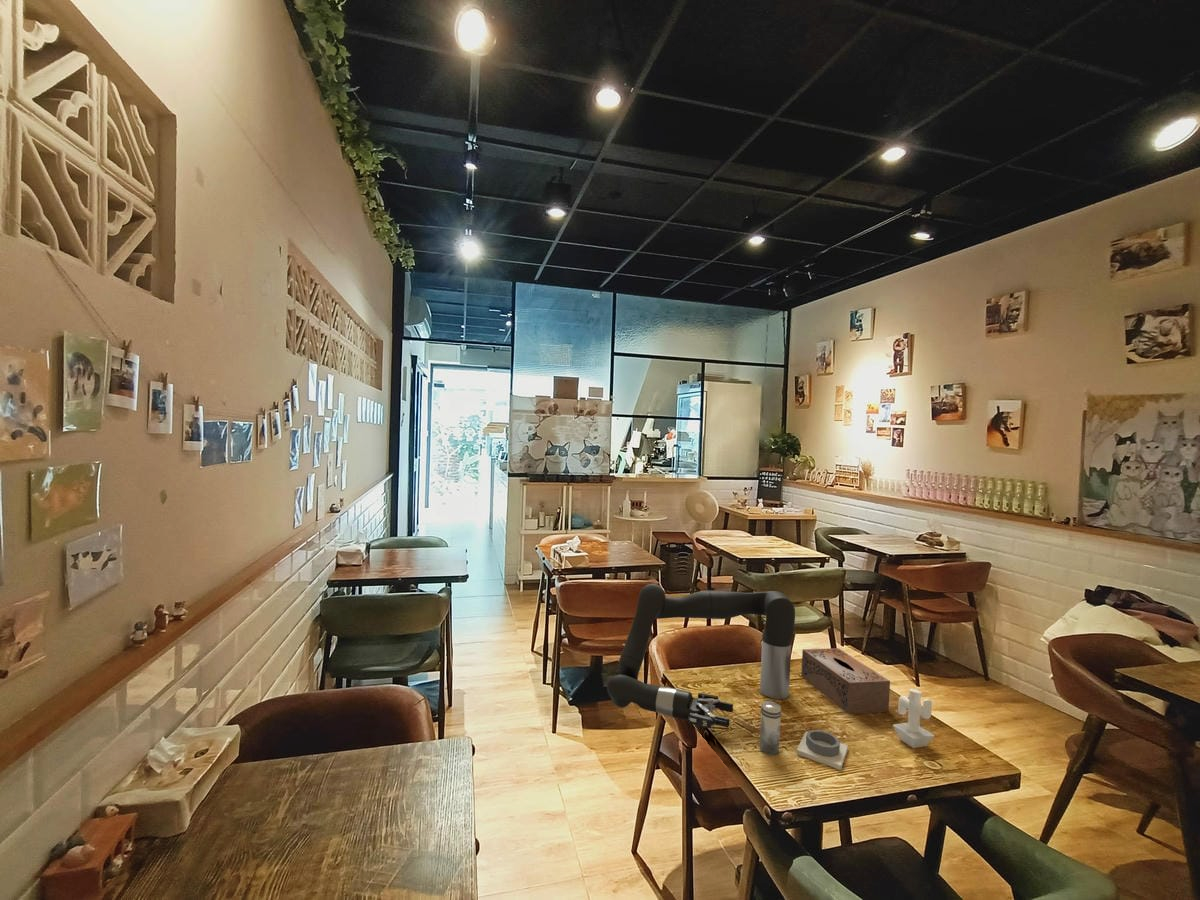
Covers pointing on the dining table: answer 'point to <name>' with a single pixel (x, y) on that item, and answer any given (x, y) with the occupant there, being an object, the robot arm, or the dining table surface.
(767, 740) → the piston
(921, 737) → the figurine
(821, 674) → the tissue box cover
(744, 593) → the robot arm
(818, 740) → the ring stand
